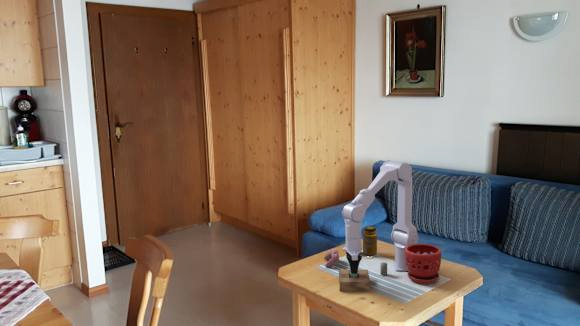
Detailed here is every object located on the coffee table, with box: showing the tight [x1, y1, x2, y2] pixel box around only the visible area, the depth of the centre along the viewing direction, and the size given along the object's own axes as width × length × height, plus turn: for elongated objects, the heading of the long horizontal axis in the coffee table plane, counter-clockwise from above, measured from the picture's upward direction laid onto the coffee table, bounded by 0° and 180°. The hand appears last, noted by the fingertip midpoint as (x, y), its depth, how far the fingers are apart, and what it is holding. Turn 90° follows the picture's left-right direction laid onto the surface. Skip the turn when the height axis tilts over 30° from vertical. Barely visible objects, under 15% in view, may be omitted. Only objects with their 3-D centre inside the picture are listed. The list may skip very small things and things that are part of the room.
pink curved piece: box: [324, 248, 341, 269], centre depth 200 cm, size 10×5×7 cm, turn 179°
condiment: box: [360, 225, 381, 259], centre depth 209 cm, size 7×8×12 cm
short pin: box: [379, 262, 388, 277], centre depth 187 cm, size 3×3×4 cm
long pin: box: [349, 269, 358, 278], centre depth 179 cm, size 3×3×8 cm
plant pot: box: [405, 243, 442, 284], centre depth 182 cm, size 13×13×12 cm
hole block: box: [338, 269, 371, 292], centre depth 179 cm, size 11×11×4 cm
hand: (353, 271), depth 179 cm, fingers closed on long pin, 2 cm apart
